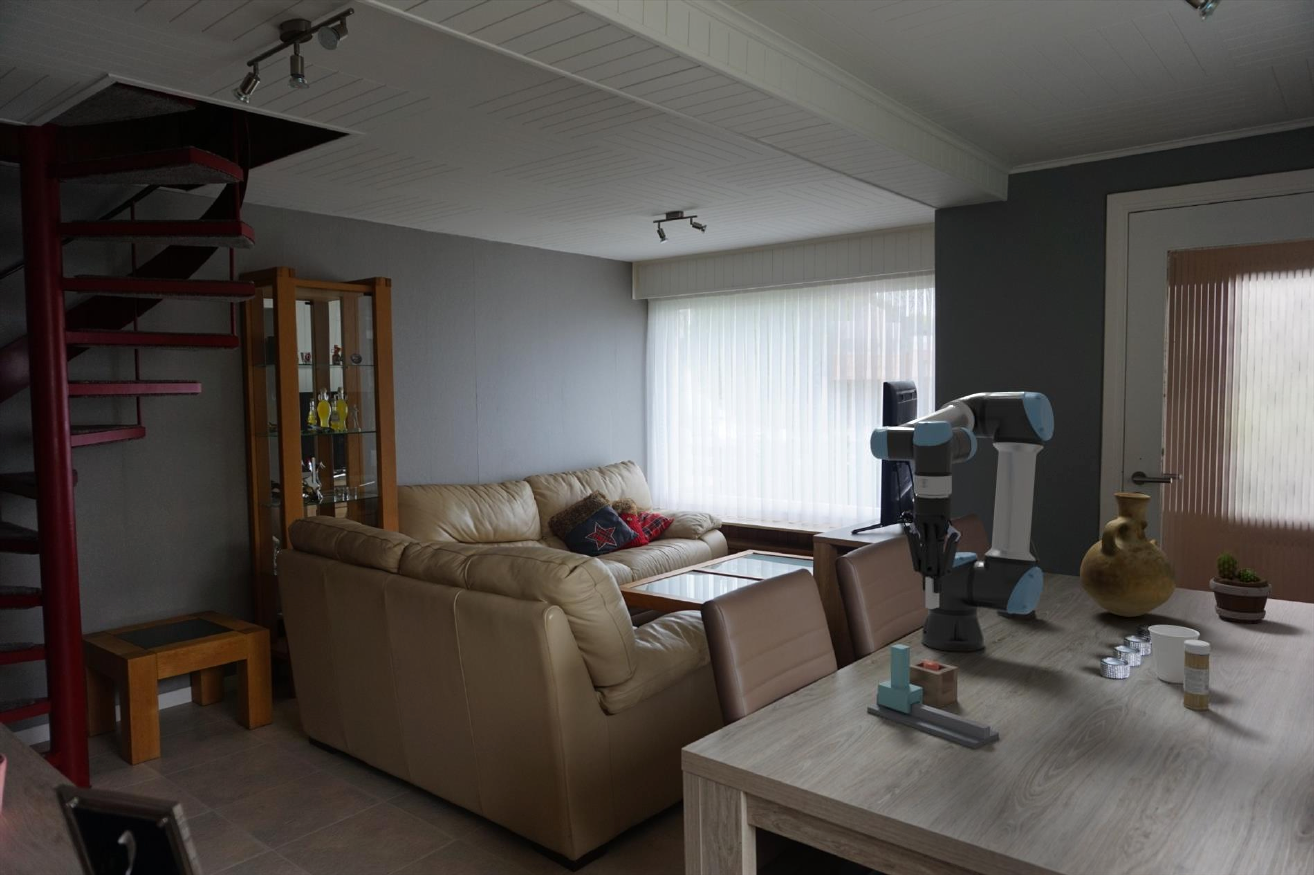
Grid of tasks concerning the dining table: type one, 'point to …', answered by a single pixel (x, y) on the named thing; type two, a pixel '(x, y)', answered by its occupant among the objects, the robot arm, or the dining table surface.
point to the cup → (1170, 650)
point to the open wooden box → (935, 683)
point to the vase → (1127, 563)
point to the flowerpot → (1239, 591)
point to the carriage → (899, 682)
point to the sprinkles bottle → (1196, 674)
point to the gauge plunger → (931, 665)
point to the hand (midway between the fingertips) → (932, 607)
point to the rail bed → (931, 727)
